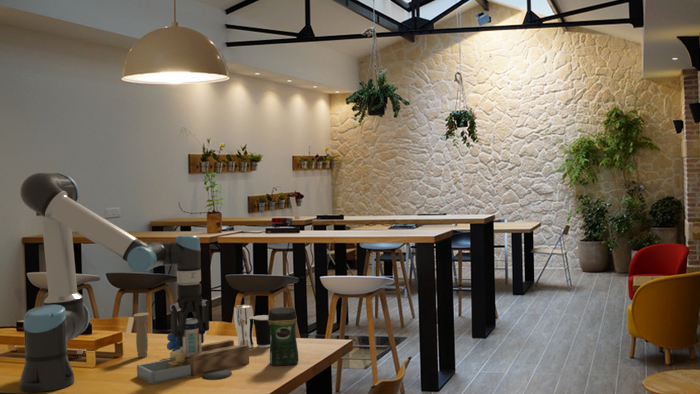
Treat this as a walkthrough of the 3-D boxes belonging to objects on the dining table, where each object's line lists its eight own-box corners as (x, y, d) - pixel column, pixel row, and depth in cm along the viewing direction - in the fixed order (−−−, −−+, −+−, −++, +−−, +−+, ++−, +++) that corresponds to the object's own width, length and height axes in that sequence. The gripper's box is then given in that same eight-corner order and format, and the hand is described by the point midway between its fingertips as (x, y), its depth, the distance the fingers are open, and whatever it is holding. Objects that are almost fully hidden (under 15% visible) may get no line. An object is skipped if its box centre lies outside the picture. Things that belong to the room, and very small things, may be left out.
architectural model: (72, 359, 235) (71, 338, 234) (75, 355, 241) (75, 334, 241) (82, 358, 235) (82, 338, 235) (85, 354, 242) (85, 333, 242)
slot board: (193, 375, 209) (193, 356, 209) (177, 368, 218) (176, 349, 218) (249, 363, 222) (248, 345, 221) (231, 356, 231) (230, 339, 231)
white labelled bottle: (193, 353, 218) (192, 317, 218) (202, 355, 215) (201, 318, 215) (180, 356, 214) (179, 319, 214) (189, 358, 211) (189, 321, 211)
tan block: (176, 364, 209) (175, 354, 209) (171, 361, 213) (169, 352, 212) (185, 361, 211) (184, 351, 211) (179, 358, 214) (178, 349, 214)
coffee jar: (297, 359, 225) (296, 304, 225) (299, 365, 217) (297, 308, 217) (269, 361, 224) (267, 306, 224) (269, 367, 216) (267, 310, 216)
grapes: (203, 353, 237) (202, 319, 237) (198, 358, 230) (197, 323, 230) (170, 354, 237) (169, 320, 237) (165, 358, 231) (164, 324, 230)
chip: (182, 372, 210) (173, 374, 208) (176, 370, 213) (167, 372, 211) (181, 363, 210) (173, 365, 208) (176, 360, 213) (167, 362, 211)
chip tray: (152, 384, 200) (152, 372, 200) (137, 376, 210) (136, 365, 210) (190, 376, 208) (190, 364, 208) (174, 368, 217) (174, 358, 217)
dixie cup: (278, 346, 244) (278, 317, 244) (260, 350, 239) (260, 320, 239) (267, 342, 250) (267, 314, 250) (249, 346, 245) (249, 316, 245)
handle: (152, 354, 238) (150, 312, 237) (146, 359, 231) (145, 316, 231) (138, 354, 238) (137, 312, 237) (132, 359, 231) (131, 316, 231)
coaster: (211, 381, 202) (210, 379, 202) (197, 375, 209) (197, 373, 209) (237, 375, 208) (237, 373, 208) (223, 369, 215) (223, 367, 215)
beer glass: (233, 346, 246) (231, 306, 246) (252, 343, 249) (249, 303, 248) (239, 350, 240) (236, 309, 239) (257, 347, 242) (255, 306, 242)
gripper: (168, 287, 206) (169, 362, 206) (219, 281, 217) (221, 352, 218) (158, 285, 212) (159, 357, 212) (208, 279, 223) (210, 348, 224)
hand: (190, 354), depth 215 cm, fingers closed on white labelled bottle, 5 cm apart
